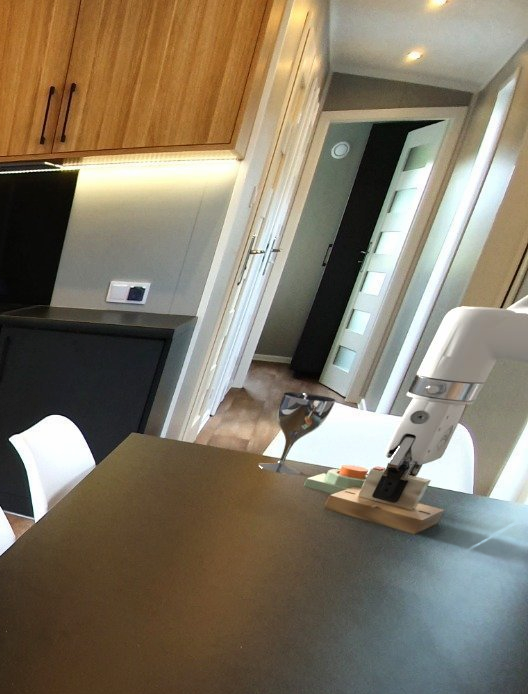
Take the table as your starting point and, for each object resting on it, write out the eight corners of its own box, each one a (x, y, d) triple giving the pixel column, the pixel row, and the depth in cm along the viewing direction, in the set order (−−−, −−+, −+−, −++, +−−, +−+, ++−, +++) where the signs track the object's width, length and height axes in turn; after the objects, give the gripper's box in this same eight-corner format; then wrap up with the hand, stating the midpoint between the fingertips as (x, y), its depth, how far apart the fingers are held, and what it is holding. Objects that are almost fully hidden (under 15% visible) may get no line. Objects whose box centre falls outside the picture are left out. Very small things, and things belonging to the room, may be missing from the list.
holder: (416, 508, 106) (431, 478, 103) (410, 510, 105) (426, 480, 102) (362, 494, 111) (376, 465, 109) (357, 496, 110) (371, 467, 108)
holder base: (438, 522, 107) (446, 508, 106) (413, 535, 102) (421, 519, 101) (349, 498, 116) (355, 485, 115) (321, 508, 111) (328, 494, 110)
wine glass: (300, 467, 132) (331, 396, 126) (306, 477, 126) (339, 403, 120) (253, 460, 136) (281, 390, 130) (257, 469, 130) (286, 397, 124)
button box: (385, 498, 117) (394, 480, 115) (369, 504, 114) (379, 486, 112) (319, 481, 125) (327, 464, 123) (303, 486, 122) (310, 469, 120)
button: (367, 478, 117) (371, 469, 117) (359, 481, 116) (363, 472, 115) (343, 472, 120) (347, 463, 119) (334, 475, 118) (338, 466, 118)
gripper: (458, 399, 93) (398, 514, 101) (494, 391, 100) (435, 498, 108) (392, 389, 99) (339, 498, 107) (430, 381, 106) (378, 484, 114)
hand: (388, 497), depth 107 cm, fingers closed
